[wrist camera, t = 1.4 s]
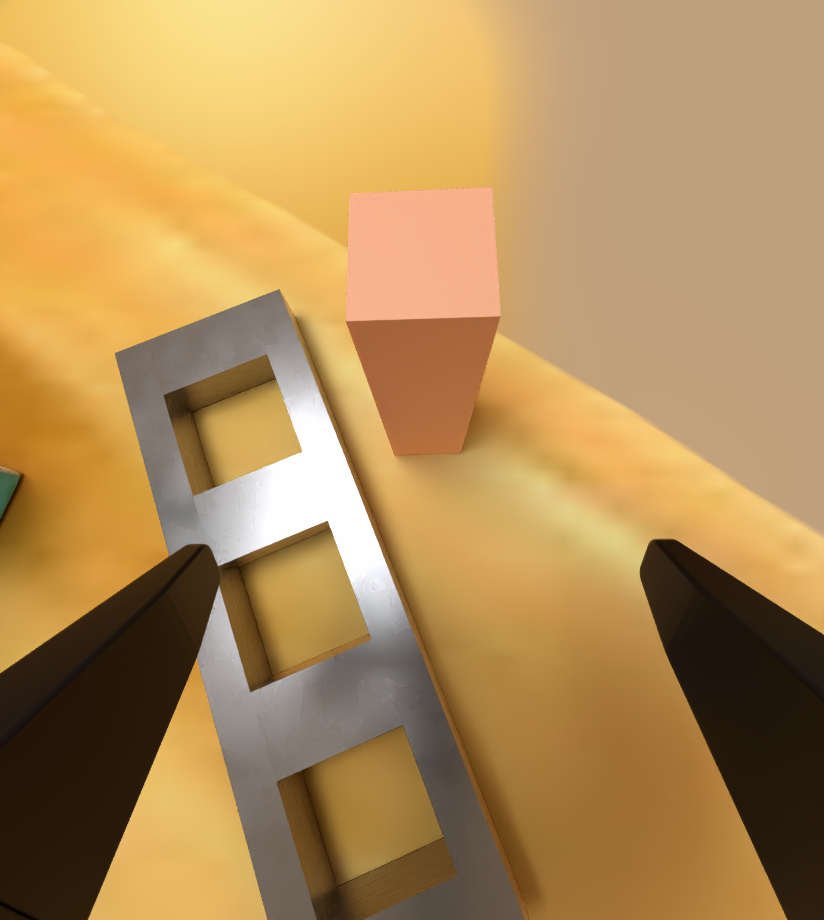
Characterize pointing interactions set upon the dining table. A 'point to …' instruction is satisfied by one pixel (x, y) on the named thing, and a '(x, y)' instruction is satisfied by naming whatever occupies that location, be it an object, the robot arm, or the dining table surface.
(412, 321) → the peg
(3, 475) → the game box
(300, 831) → the rail
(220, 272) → the dining table surface
